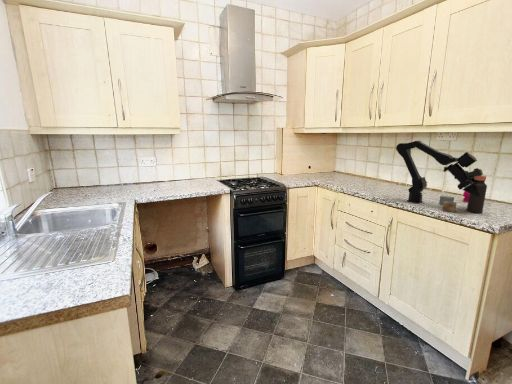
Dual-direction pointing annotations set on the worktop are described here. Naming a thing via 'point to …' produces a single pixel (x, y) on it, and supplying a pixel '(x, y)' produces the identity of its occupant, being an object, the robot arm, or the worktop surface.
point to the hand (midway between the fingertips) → (480, 195)
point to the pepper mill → (466, 196)
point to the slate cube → (445, 199)
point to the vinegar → (478, 202)
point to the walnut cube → (449, 206)
